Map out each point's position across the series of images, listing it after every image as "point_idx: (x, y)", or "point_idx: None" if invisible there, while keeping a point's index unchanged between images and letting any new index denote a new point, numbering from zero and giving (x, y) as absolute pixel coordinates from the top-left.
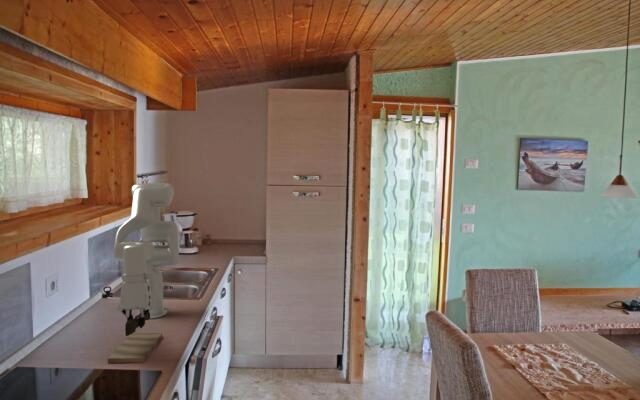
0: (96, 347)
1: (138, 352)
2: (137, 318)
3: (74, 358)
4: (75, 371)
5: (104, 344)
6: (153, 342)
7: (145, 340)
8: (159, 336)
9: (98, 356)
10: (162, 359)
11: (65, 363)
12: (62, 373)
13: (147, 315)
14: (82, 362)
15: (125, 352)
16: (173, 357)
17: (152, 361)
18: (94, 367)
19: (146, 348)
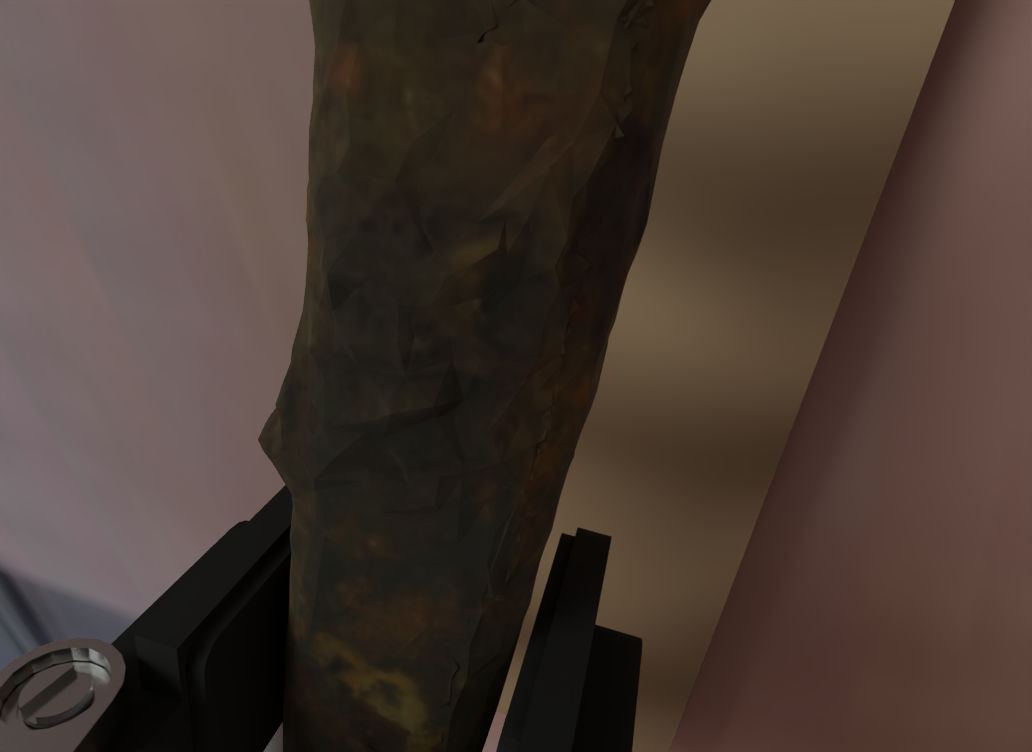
0: (50, 173)
1: (596, 624)
2: (400, 734)
3: (8, 429)
4: None
5: (90, 78)
6: (790, 356)
7: (652, 226)
8: (928, 56)
9: (193, 450)
10: (875, 738)
11: (3, 511)
12: None
13: (679, 71)
14: (121, 536)
15: None
16: (1019, 740)
17: (760, 740)
18: None
19: (686, 543)
